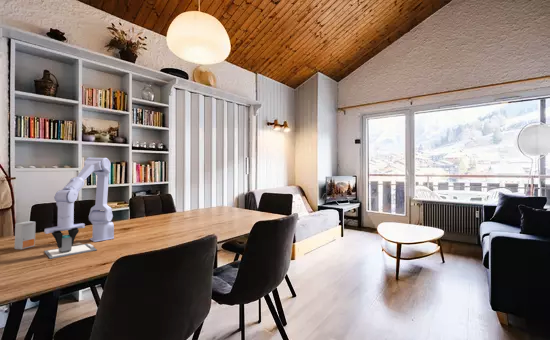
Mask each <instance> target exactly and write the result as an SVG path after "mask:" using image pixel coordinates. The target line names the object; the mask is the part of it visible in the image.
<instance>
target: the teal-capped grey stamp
mask: <svg viewBox="0 0 550 340" xmlns="http://www.w3.org/2000/svg"><path fill="white" fill-rule="evenodd" d="M57 249H58V250H59V252H62V253H63V252H68V251H71V249H72V237H70V235H69V234H63V235H62V247H61V248H58V247H57Z"/></svg>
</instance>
